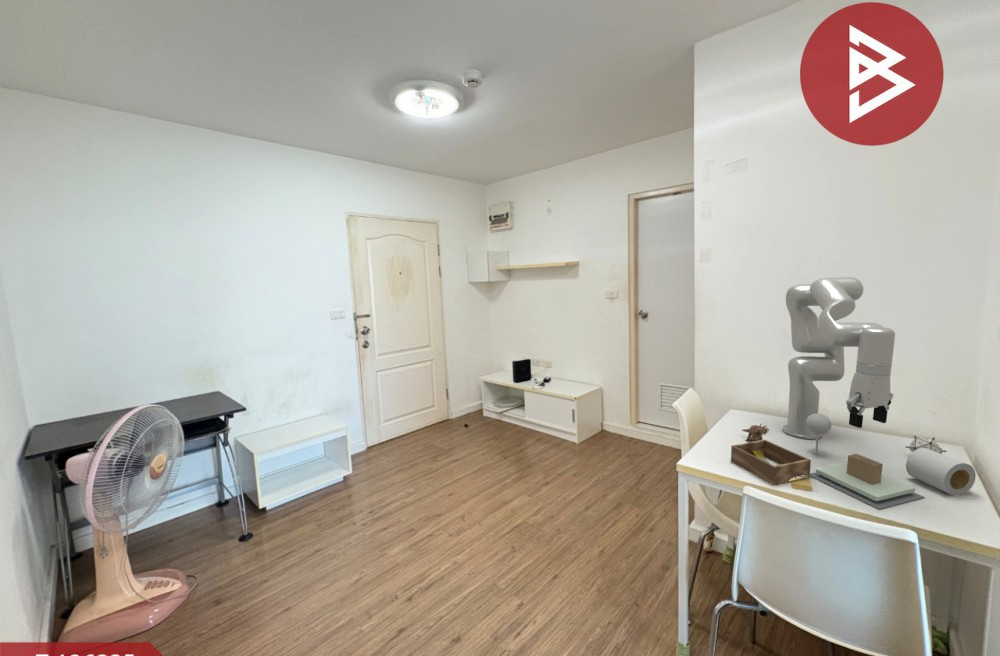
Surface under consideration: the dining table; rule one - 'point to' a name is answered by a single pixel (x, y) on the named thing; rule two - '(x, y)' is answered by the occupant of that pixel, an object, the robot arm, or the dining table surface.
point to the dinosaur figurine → (755, 432)
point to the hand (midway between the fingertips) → (867, 423)
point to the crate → (772, 474)
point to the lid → (865, 478)
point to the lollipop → (818, 426)
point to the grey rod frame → (925, 445)
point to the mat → (876, 504)
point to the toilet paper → (941, 471)
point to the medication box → (759, 455)
